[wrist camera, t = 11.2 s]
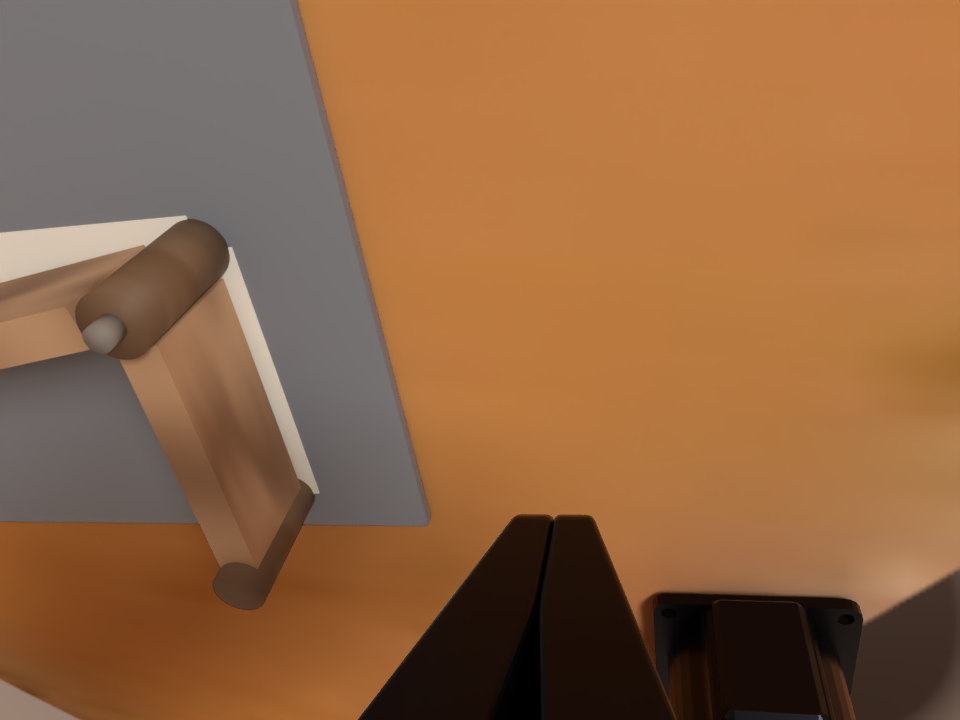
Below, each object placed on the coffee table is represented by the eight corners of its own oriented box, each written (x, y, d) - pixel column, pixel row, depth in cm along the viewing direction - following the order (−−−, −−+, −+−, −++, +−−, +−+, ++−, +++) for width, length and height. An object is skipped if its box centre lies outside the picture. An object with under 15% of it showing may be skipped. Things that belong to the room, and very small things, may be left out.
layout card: (430, 517, 26) (428, 526, 25) (-30, 513, 30) (-38, 521, 29) (168, -496, 13) (155, -506, 13) (-563, -252, 17) (-588, -254, 17)
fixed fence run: (327, 502, 26) (266, 628, 22) (279, 501, 26) (211, 625, 22) (223, 210, 20) (115, 303, 16) (165, 215, 21) (45, 307, 17)
